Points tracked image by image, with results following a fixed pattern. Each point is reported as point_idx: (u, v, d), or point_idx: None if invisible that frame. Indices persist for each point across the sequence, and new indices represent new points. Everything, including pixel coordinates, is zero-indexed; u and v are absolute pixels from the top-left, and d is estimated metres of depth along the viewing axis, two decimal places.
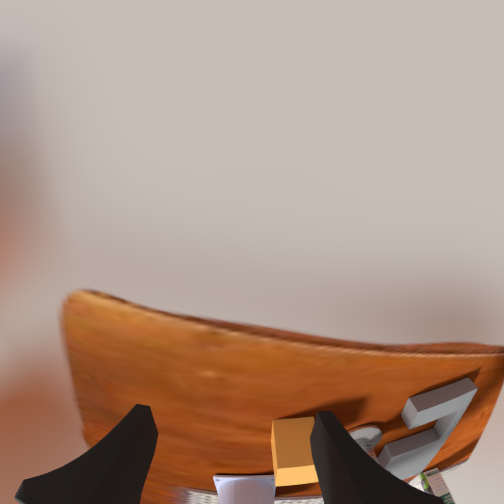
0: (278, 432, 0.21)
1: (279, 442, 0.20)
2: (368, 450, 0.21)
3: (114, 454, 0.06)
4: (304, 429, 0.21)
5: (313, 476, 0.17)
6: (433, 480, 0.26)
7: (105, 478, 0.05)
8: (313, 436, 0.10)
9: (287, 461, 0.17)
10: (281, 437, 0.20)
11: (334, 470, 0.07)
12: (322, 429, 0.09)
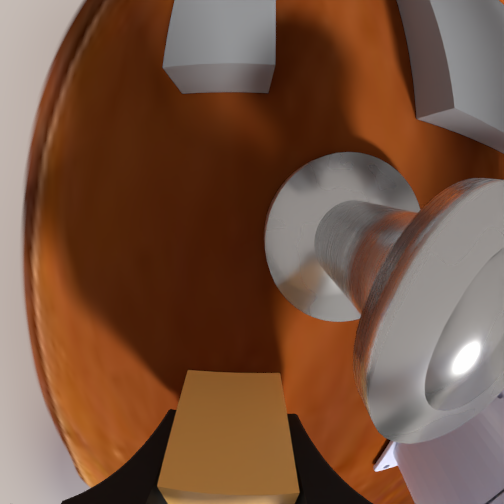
0: None
1: None
2: (335, 245, 0.07)
3: (156, 464, 0.06)
4: None
5: (245, 502, 0.05)
6: None
7: (151, 491, 0.05)
8: None
9: None
10: None
11: None
12: None
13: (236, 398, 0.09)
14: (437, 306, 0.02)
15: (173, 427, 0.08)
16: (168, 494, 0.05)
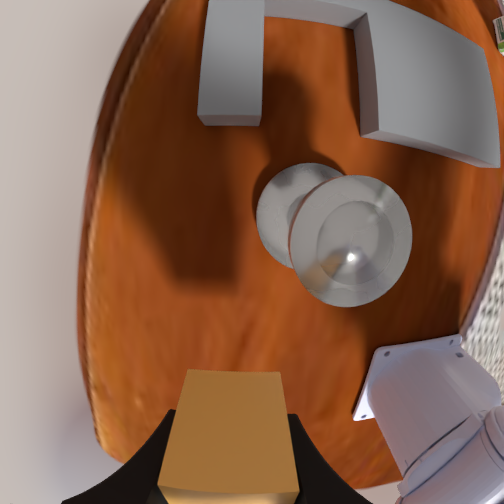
0: None
1: None
2: None
3: (156, 464, 0.06)
4: None
5: (245, 501, 0.05)
6: None
7: (151, 491, 0.05)
8: None
9: None
10: None
11: None
12: None
13: (236, 397, 0.09)
14: (312, 222, 0.08)
15: (173, 426, 0.08)
16: (169, 493, 0.05)
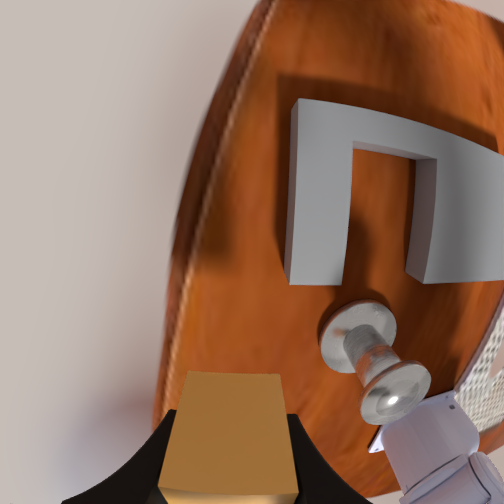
0: None
1: None
2: (354, 354, 0.16)
3: (156, 464, 0.06)
4: None
5: (245, 502, 0.05)
6: None
7: (151, 491, 0.05)
8: None
9: None
10: None
11: None
12: None
13: (236, 399, 0.09)
14: (377, 395, 0.11)
15: (173, 427, 0.08)
16: (169, 494, 0.05)
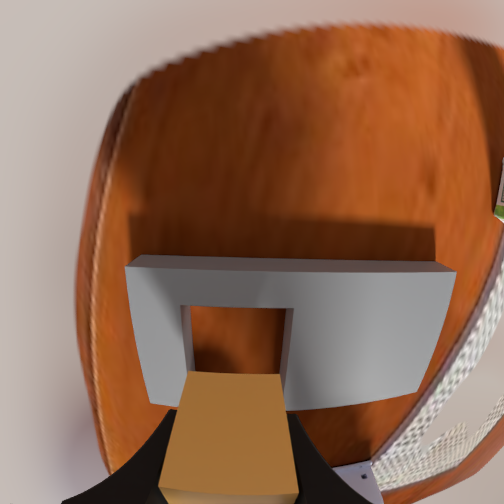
0: None
1: None
2: None
3: (156, 464, 0.06)
4: None
5: (245, 502, 0.05)
6: None
7: (151, 491, 0.05)
8: None
9: None
10: None
11: None
12: None
13: (236, 399, 0.09)
14: None
15: (174, 428, 0.08)
16: (169, 494, 0.05)
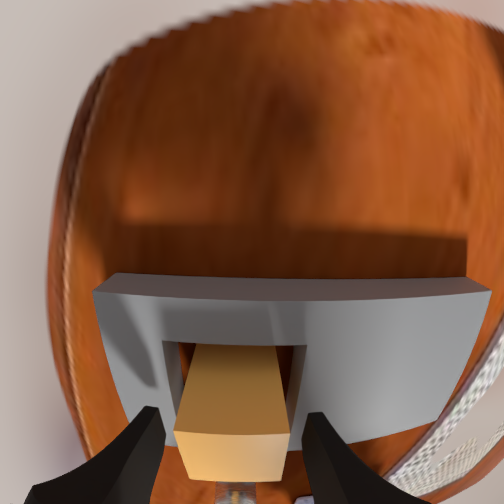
0: None
1: None
2: (216, 485, 0.13)
3: (125, 457, 0.06)
4: None
5: (246, 445, 0.08)
6: None
7: (117, 482, 0.05)
8: (304, 437, 0.10)
9: None
10: None
11: (323, 472, 0.07)
12: (312, 430, 0.09)
13: (238, 362, 0.12)
14: None
15: (186, 385, 0.10)
16: (182, 440, 0.08)
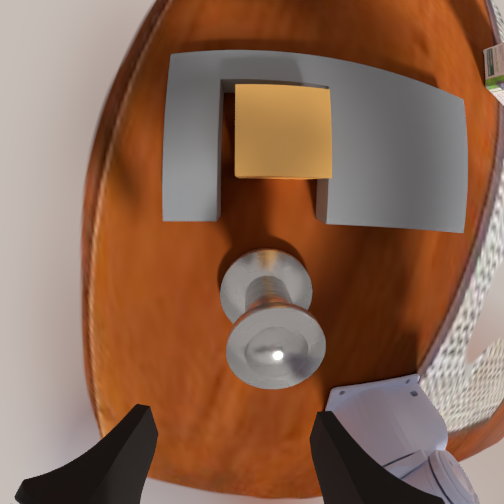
0: None
1: None
2: (245, 305, 0.15)
3: (115, 454, 0.06)
4: None
5: (296, 99, 0.10)
6: (503, 62, 0.10)
7: (105, 478, 0.05)
8: (313, 436, 0.10)
9: None
10: None
11: (334, 470, 0.07)
12: (322, 429, 0.09)
13: None
14: (240, 341, 0.11)
15: None
16: (241, 96, 0.10)
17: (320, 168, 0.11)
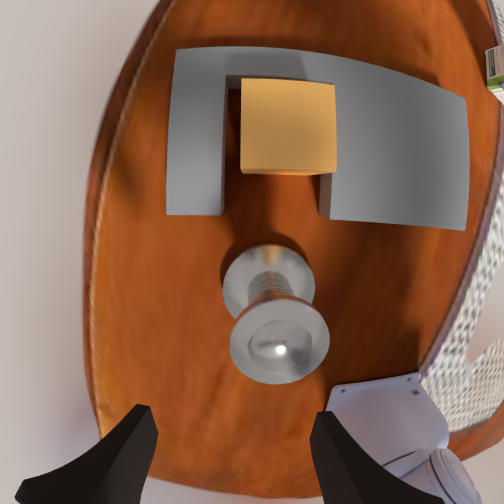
0: None
1: None
2: (248, 300, 0.15)
3: (114, 454, 0.06)
4: None
5: (301, 94, 0.10)
6: None
7: (105, 478, 0.05)
8: (313, 436, 0.10)
9: None
10: None
11: (334, 470, 0.07)
12: (322, 429, 0.09)
13: None
14: (244, 335, 0.11)
15: None
16: (247, 90, 0.10)
17: (325, 162, 0.11)
